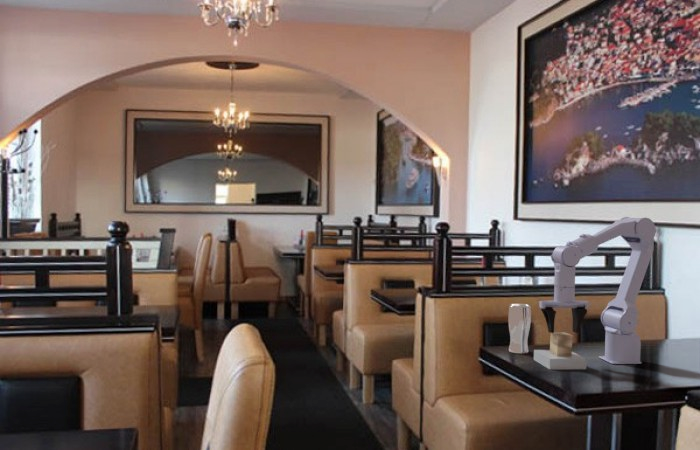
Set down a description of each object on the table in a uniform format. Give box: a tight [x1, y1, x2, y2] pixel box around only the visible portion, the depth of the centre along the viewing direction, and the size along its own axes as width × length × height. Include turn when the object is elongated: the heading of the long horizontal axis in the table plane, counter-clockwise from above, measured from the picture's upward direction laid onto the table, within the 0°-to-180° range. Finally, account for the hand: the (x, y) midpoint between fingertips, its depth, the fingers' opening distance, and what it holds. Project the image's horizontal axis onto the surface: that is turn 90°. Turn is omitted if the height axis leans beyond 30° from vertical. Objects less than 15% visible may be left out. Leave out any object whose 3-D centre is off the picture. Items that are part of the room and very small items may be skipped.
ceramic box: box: [533, 349, 588, 370], centre depth 179 cm, size 11×11×4 cm
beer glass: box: [507, 302, 532, 355], centre depth 194 cm, size 7×7×15 cm
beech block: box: [549, 331, 574, 356], centre depth 179 cm, size 4×4×6 cm
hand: (563, 332), depth 180 cm, fingers open, 7 cm apart
